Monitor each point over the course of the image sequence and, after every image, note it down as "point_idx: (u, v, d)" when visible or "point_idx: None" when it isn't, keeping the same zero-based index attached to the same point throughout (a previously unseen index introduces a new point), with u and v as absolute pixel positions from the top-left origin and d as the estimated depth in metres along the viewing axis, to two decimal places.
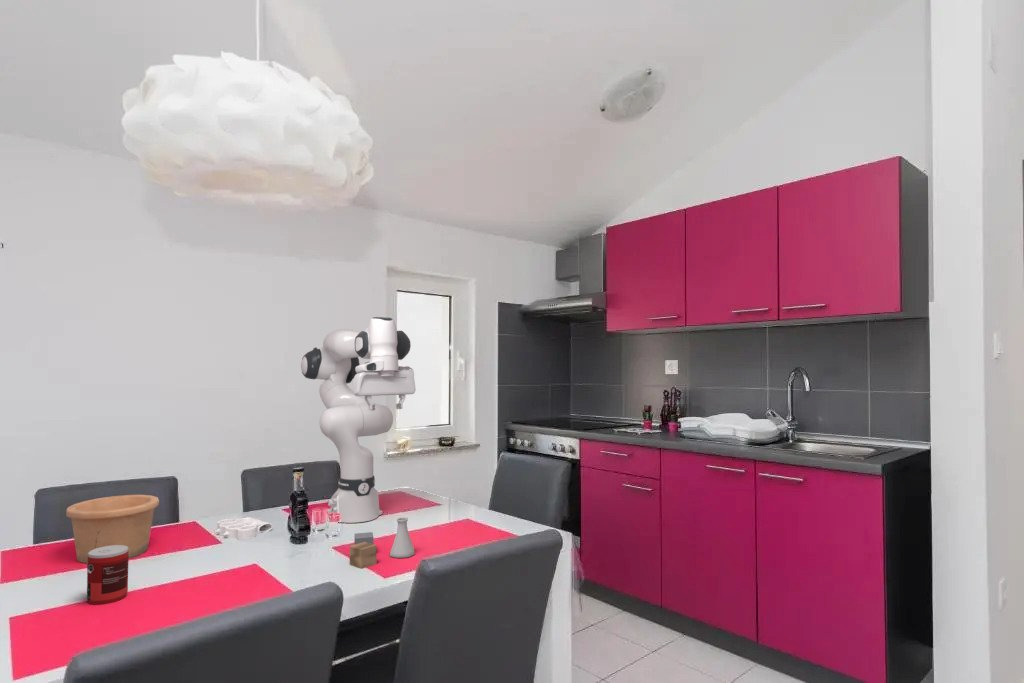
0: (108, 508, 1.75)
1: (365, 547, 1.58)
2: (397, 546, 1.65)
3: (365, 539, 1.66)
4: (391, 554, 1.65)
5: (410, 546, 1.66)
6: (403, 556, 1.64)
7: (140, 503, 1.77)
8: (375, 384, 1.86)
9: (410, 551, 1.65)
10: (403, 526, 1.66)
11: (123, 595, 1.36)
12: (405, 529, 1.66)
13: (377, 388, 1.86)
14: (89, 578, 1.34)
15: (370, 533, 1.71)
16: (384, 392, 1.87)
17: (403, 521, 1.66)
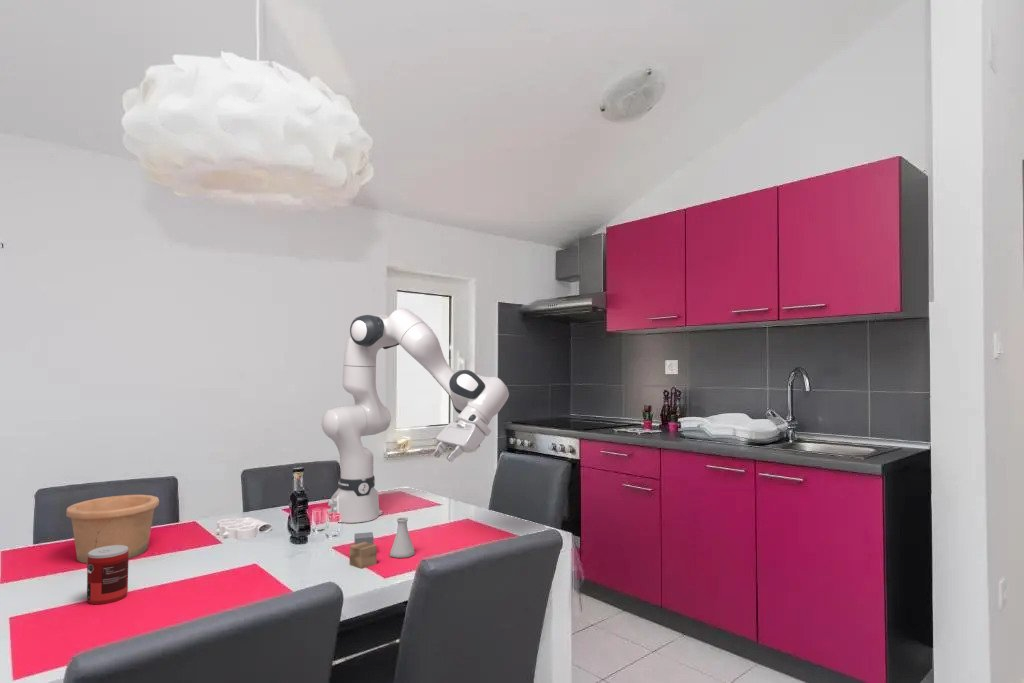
0: (108, 508, 1.75)
1: (365, 547, 1.58)
2: (397, 546, 1.65)
3: (365, 539, 1.66)
4: (391, 554, 1.65)
5: (410, 546, 1.66)
6: (403, 556, 1.64)
7: (140, 503, 1.77)
8: None
9: (410, 551, 1.65)
10: (403, 526, 1.66)
11: (123, 595, 1.36)
12: (405, 529, 1.66)
13: None
14: (89, 578, 1.34)
15: (370, 533, 1.71)
16: None
17: (403, 521, 1.66)
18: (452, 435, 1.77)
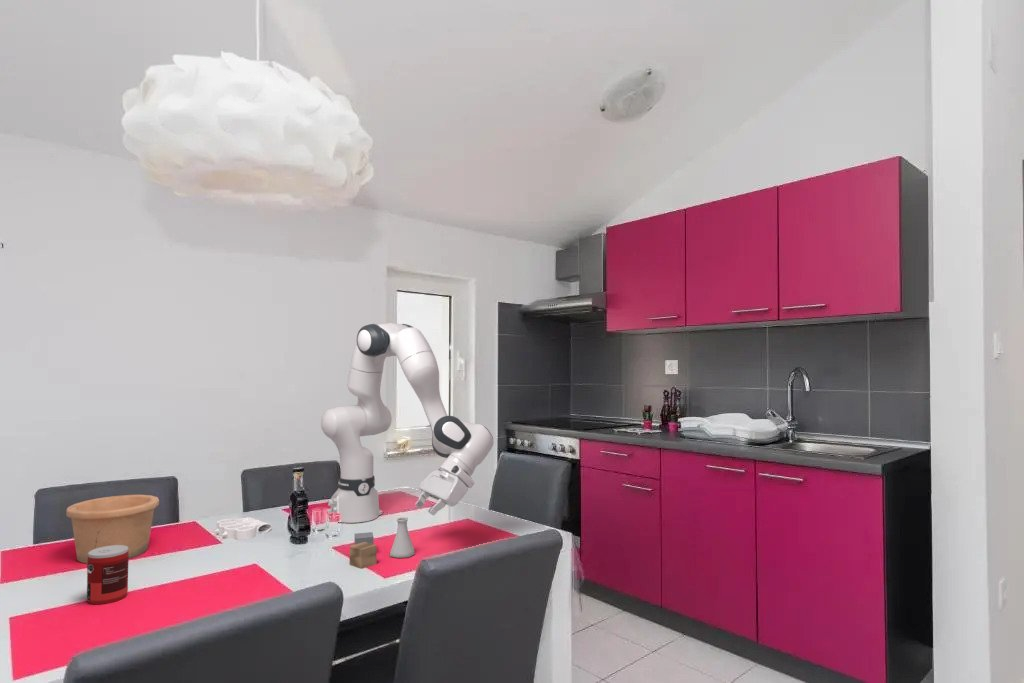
0: (108, 508, 1.75)
1: (365, 547, 1.58)
2: (397, 546, 1.65)
3: (365, 539, 1.66)
4: (391, 554, 1.65)
5: (410, 546, 1.66)
6: (403, 556, 1.64)
7: (140, 503, 1.77)
8: None
9: (410, 551, 1.65)
10: (403, 526, 1.66)
11: (123, 595, 1.36)
12: (405, 529, 1.66)
13: None
14: (89, 578, 1.34)
15: (370, 533, 1.71)
16: None
17: (403, 521, 1.66)
18: (434, 486, 1.74)
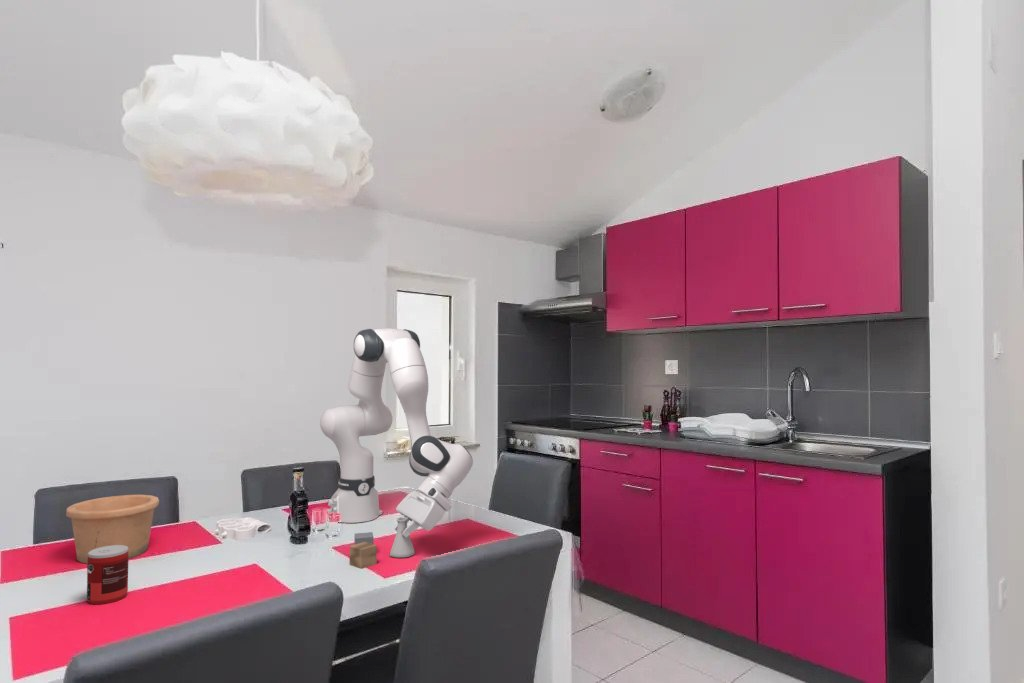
0: (108, 508, 1.75)
1: (365, 547, 1.58)
2: (397, 545, 1.65)
3: (365, 539, 1.66)
4: (391, 554, 1.65)
5: (410, 546, 1.66)
6: (403, 556, 1.64)
7: (140, 503, 1.77)
8: None
9: (410, 551, 1.65)
10: (403, 526, 1.66)
11: (123, 595, 1.36)
12: None
13: None
14: (89, 578, 1.34)
15: (370, 533, 1.71)
16: None
17: (403, 521, 1.66)
18: (411, 508, 1.70)
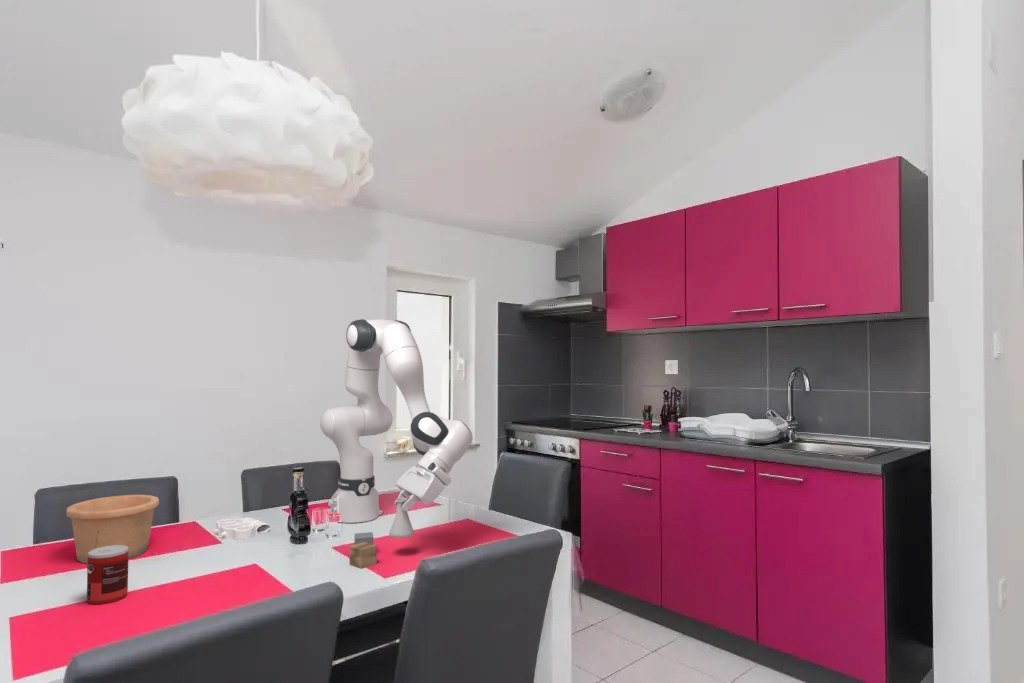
0: (108, 508, 1.75)
1: (365, 547, 1.58)
2: (397, 526, 1.65)
3: (365, 539, 1.66)
4: (391, 534, 1.65)
5: (410, 526, 1.67)
6: (403, 536, 1.64)
7: (140, 503, 1.77)
8: None
9: (410, 531, 1.66)
10: None
11: (123, 595, 1.36)
12: None
13: None
14: (89, 578, 1.34)
15: (370, 533, 1.71)
16: None
17: (403, 501, 1.66)
18: (411, 483, 1.70)
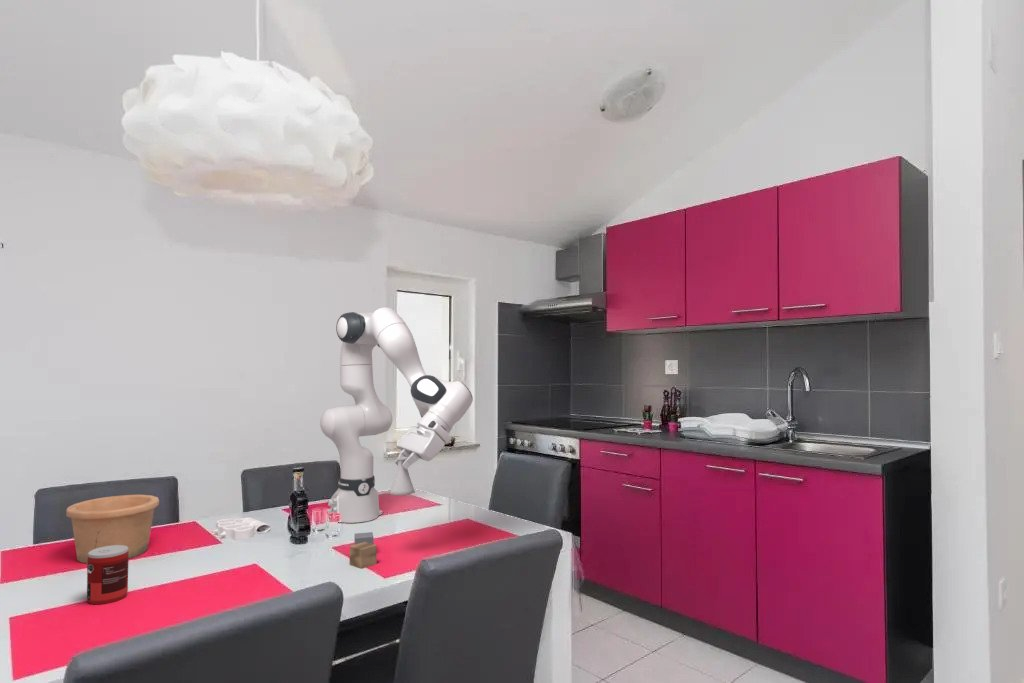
0: (108, 508, 1.75)
1: (365, 547, 1.58)
2: (398, 484, 1.65)
3: (365, 539, 1.66)
4: (392, 492, 1.65)
5: (410, 484, 1.67)
6: (404, 493, 1.64)
7: (140, 503, 1.77)
8: None
9: (411, 489, 1.66)
10: None
11: (123, 595, 1.36)
12: None
13: None
14: (89, 578, 1.34)
15: (370, 533, 1.71)
16: None
17: (403, 459, 1.67)
18: (411, 442, 1.70)
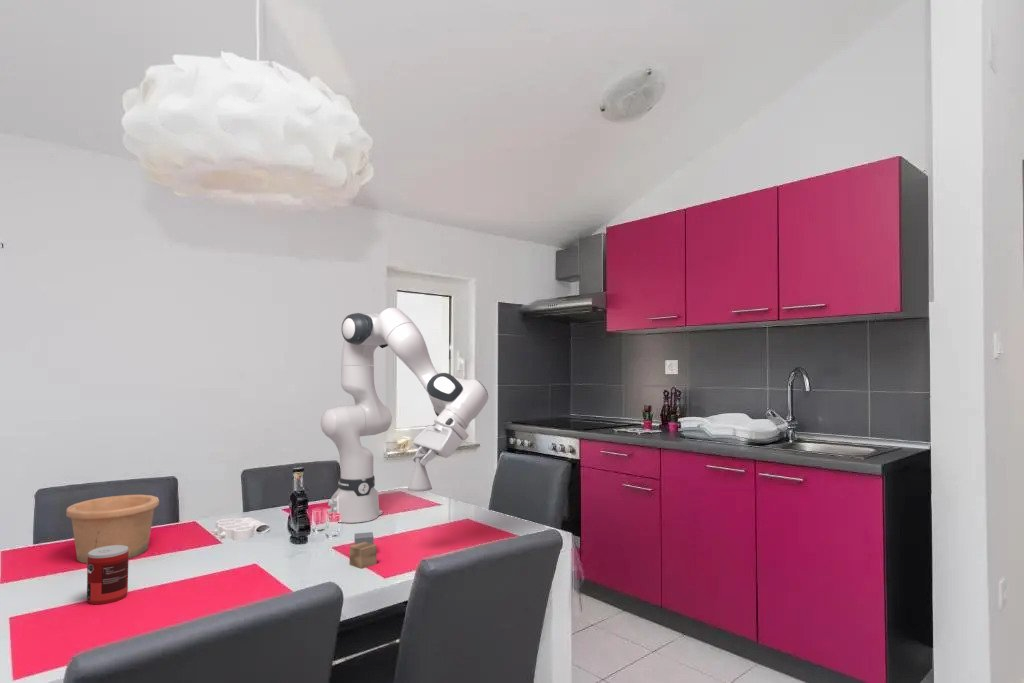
0: (108, 508, 1.75)
1: (365, 547, 1.58)
2: (416, 480, 1.67)
3: (365, 539, 1.66)
4: (410, 488, 1.67)
5: (428, 481, 1.69)
6: (422, 490, 1.66)
7: (140, 503, 1.77)
8: None
9: (428, 486, 1.68)
10: None
11: (123, 595, 1.36)
12: None
13: None
14: (89, 578, 1.34)
15: (370, 533, 1.71)
16: None
17: (421, 456, 1.69)
18: (429, 439, 1.73)
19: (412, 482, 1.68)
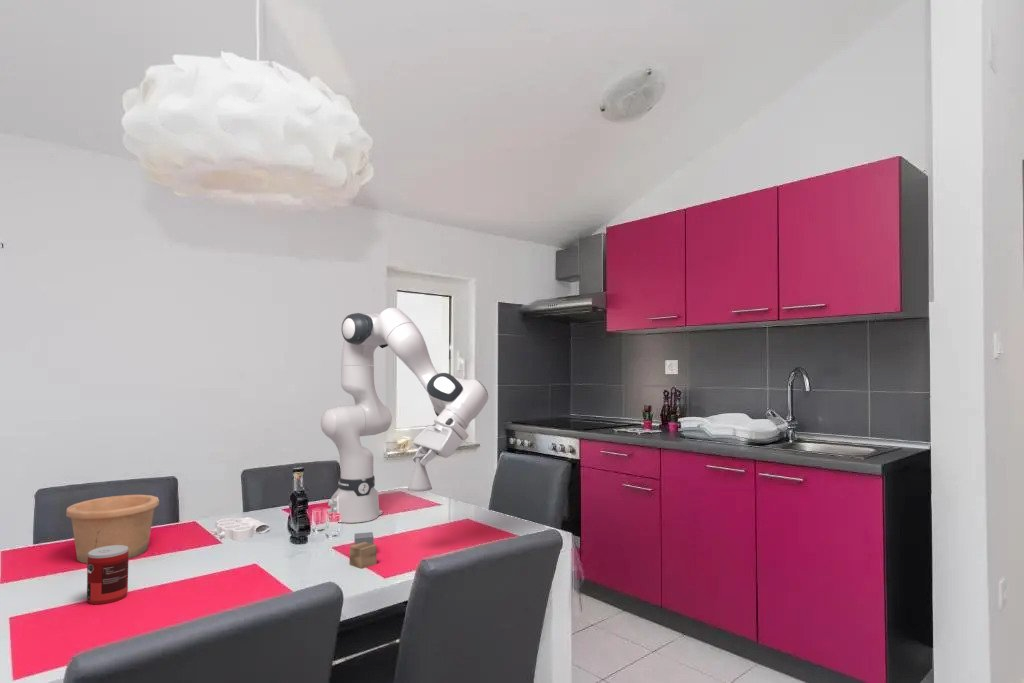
0: (108, 508, 1.75)
1: (365, 547, 1.58)
2: (416, 480, 1.67)
3: (365, 539, 1.66)
4: (410, 488, 1.67)
5: (428, 481, 1.69)
6: (422, 490, 1.66)
7: (140, 503, 1.77)
8: None
9: (428, 486, 1.68)
10: None
11: (123, 595, 1.36)
12: None
13: None
14: (89, 578, 1.34)
15: (370, 533, 1.71)
16: None
17: (421, 456, 1.69)
18: (429, 439, 1.73)
19: (412, 482, 1.68)
